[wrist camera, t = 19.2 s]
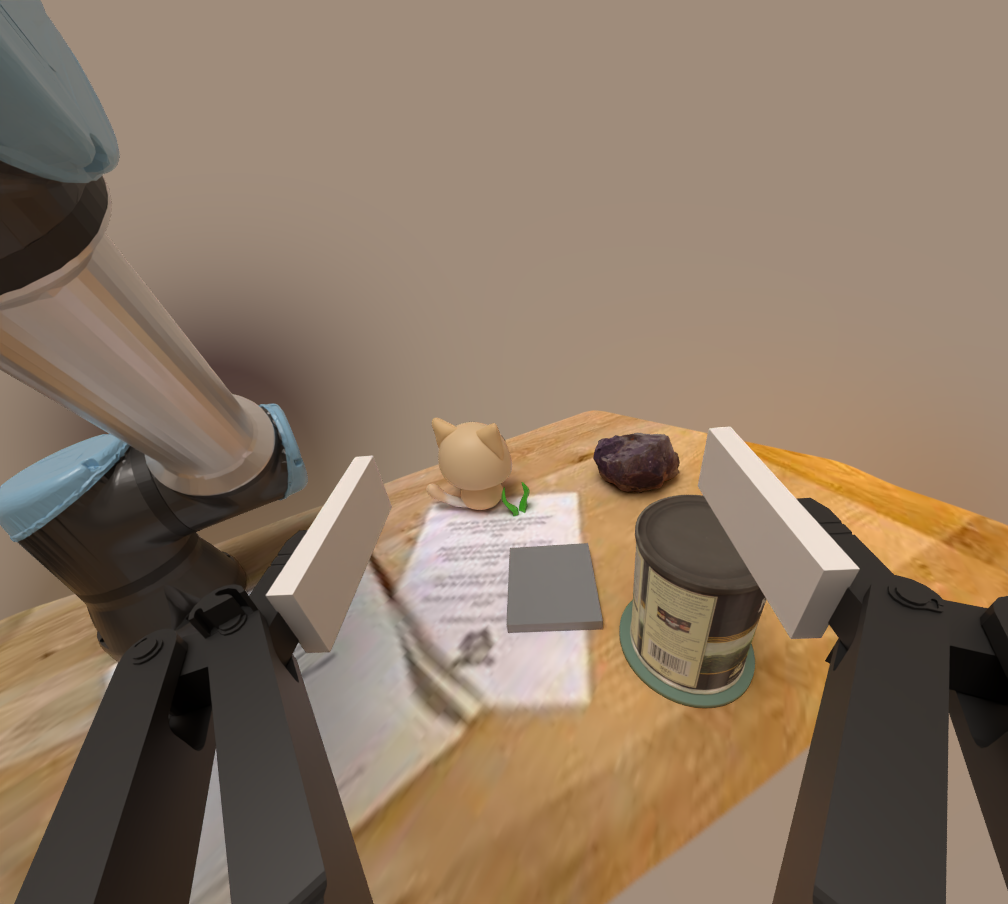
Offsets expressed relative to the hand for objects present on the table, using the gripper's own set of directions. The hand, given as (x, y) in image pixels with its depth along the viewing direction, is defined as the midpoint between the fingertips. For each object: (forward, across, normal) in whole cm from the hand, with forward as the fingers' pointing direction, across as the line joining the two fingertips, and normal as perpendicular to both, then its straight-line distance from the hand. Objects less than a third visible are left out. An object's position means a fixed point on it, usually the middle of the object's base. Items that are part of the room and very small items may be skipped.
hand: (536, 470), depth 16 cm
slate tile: (+12, 0, -29) cm, 31 cm away
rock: (+36, +14, -30) cm, 49 cm away
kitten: (+34, -9, -30) cm, 47 cm away
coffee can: (+10, +13, -29) cm, 33 cm away
